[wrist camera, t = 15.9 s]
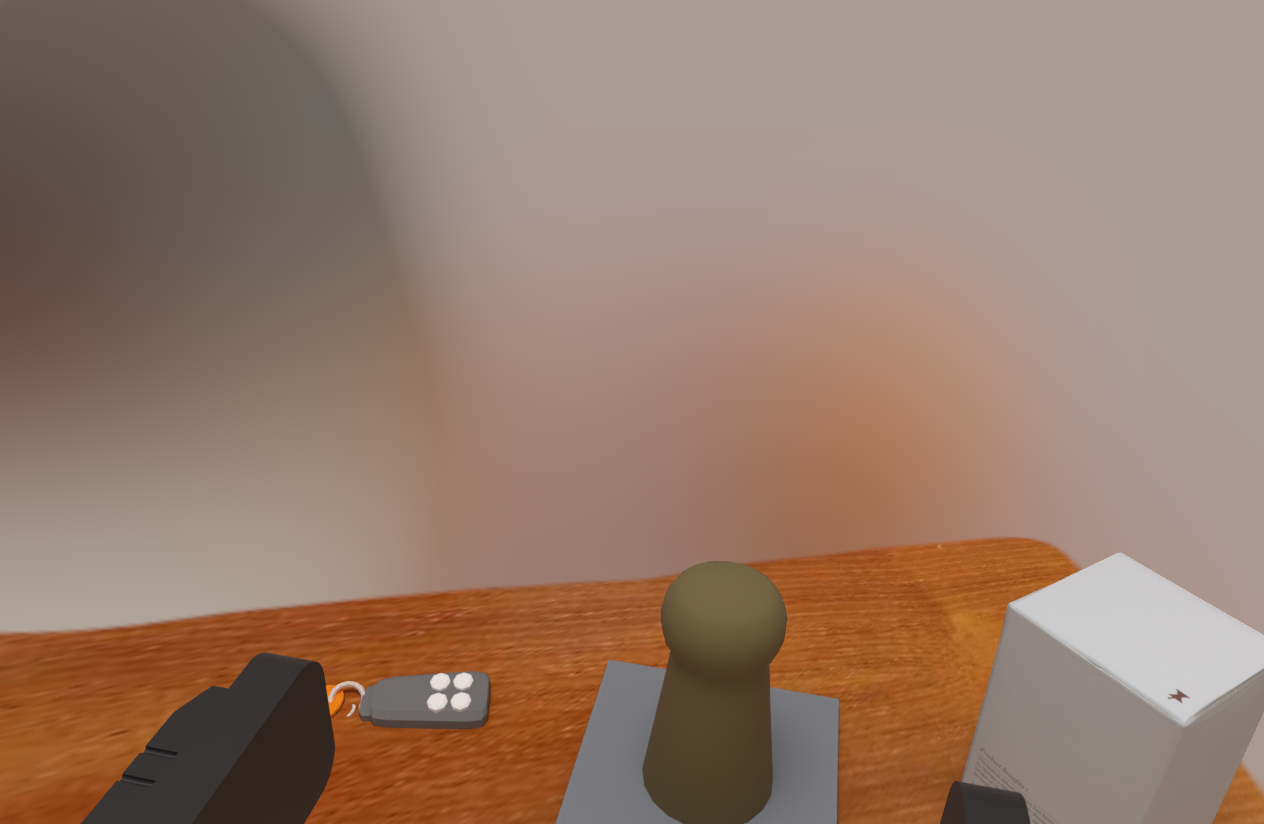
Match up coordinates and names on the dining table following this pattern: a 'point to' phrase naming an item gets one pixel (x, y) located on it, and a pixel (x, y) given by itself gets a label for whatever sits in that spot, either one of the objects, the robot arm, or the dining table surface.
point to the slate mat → (619, 735)
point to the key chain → (421, 701)
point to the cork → (716, 696)
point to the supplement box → (1118, 701)
